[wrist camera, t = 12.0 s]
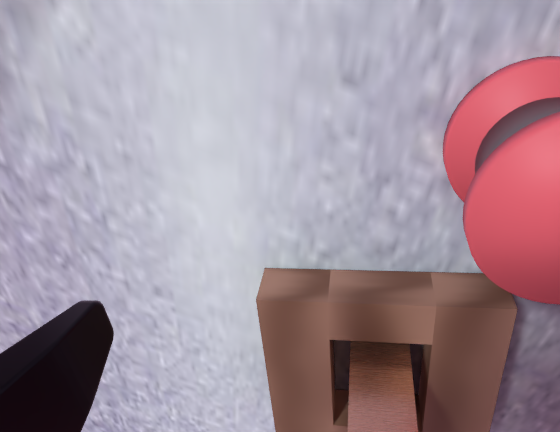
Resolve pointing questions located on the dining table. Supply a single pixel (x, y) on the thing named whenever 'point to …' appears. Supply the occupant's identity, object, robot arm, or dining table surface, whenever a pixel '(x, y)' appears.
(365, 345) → the reddish brown block
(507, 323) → the board with rectangular hole
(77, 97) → the dining table surface
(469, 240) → the spool
